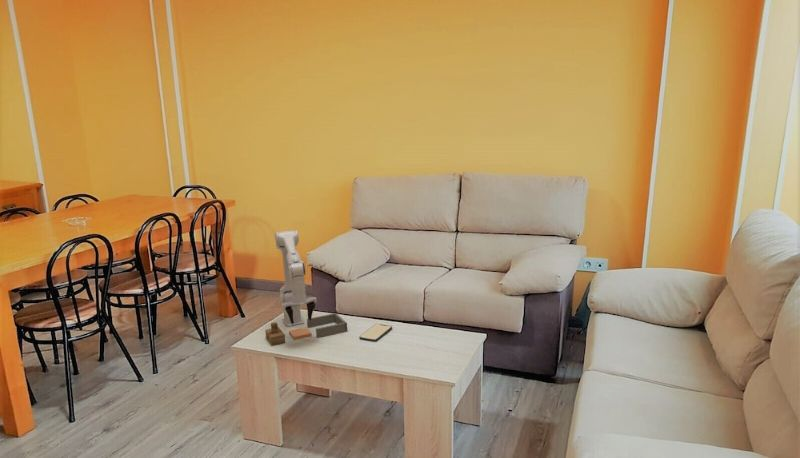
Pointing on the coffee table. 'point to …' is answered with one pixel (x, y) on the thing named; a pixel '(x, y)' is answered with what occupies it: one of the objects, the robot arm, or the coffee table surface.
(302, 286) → the robot arm
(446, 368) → the coffee table surface
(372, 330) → the phone case
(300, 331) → the tile
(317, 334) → the frame
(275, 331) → the pusher
